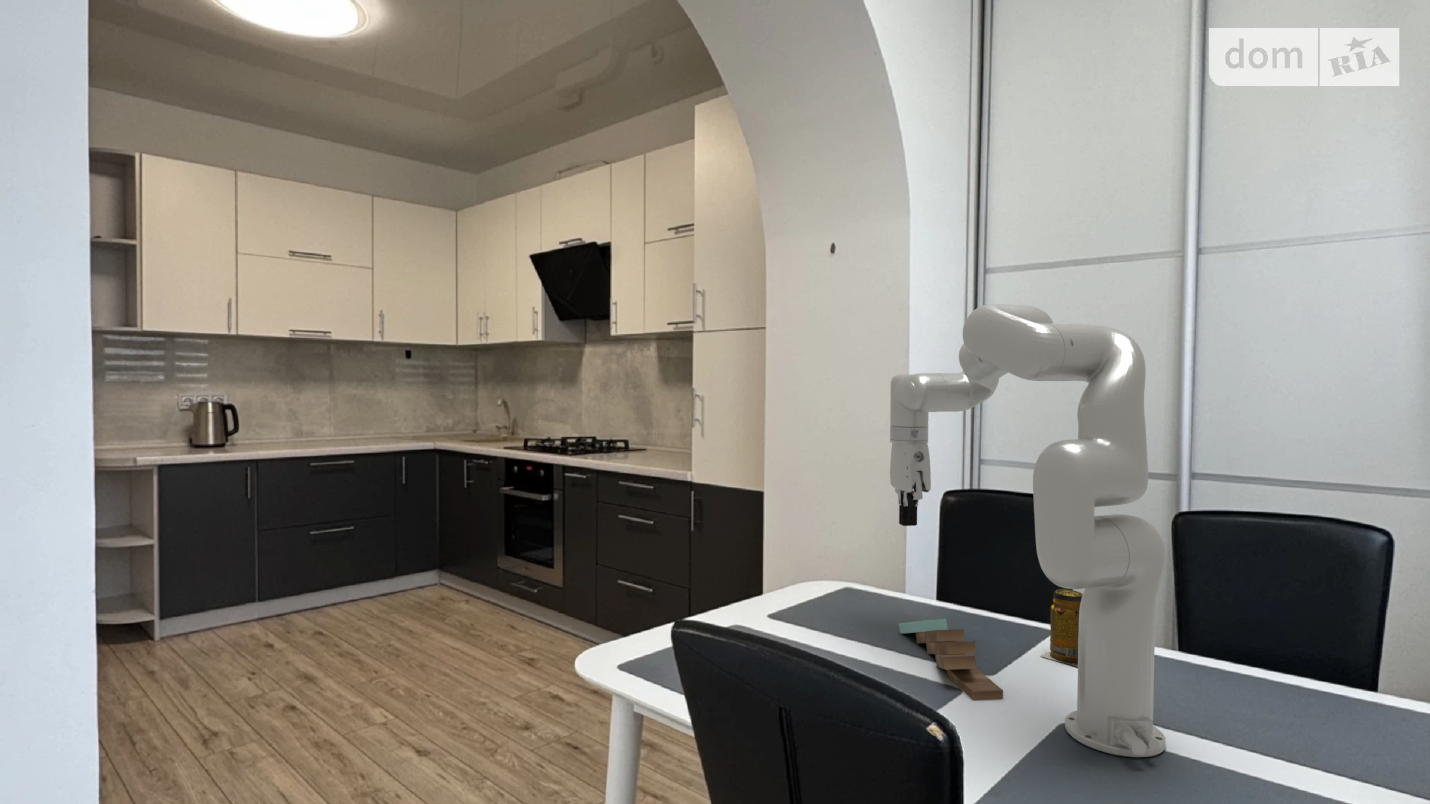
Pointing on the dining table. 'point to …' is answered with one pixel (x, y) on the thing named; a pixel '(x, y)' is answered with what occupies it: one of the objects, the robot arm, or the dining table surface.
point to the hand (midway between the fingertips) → (908, 524)
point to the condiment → (1065, 627)
